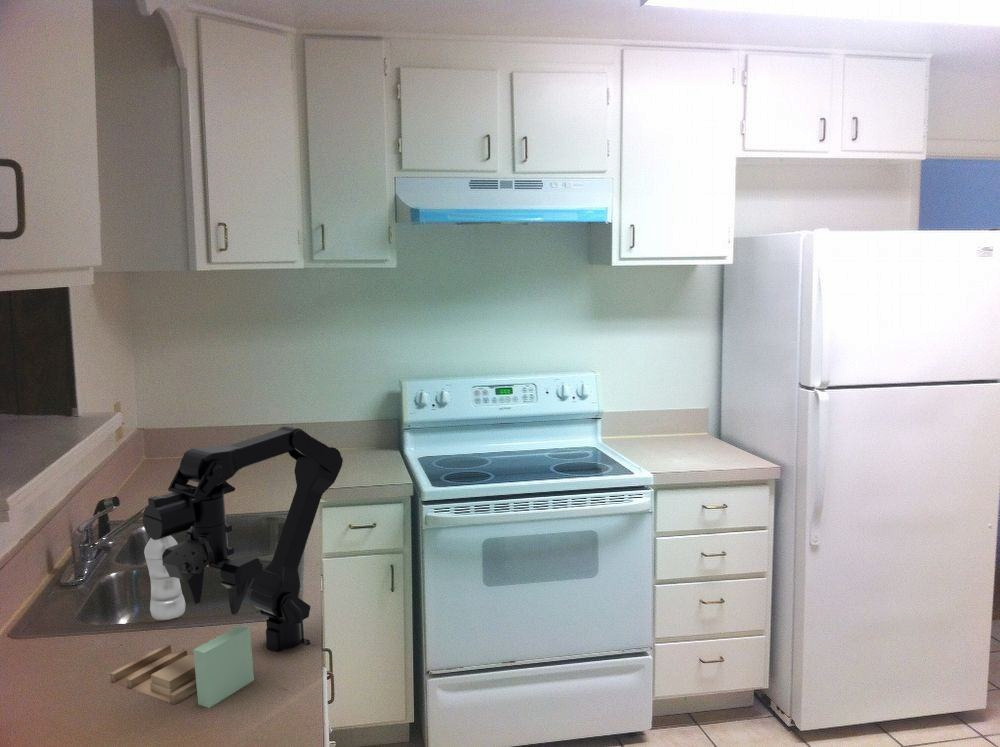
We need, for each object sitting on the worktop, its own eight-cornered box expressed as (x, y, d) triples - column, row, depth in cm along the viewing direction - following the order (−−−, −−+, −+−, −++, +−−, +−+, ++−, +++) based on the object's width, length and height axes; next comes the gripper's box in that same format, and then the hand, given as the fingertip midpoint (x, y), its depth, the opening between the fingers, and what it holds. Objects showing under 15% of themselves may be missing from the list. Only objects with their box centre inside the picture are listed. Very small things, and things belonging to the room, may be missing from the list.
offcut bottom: (197, 665, 161) (196, 657, 161) (217, 671, 158) (216, 663, 158) (150, 691, 152) (150, 682, 152) (171, 698, 150) (170, 690, 150)
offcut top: (193, 659, 160) (193, 651, 159) (212, 665, 157) (211, 657, 157) (151, 682, 152) (150, 674, 152) (170, 689, 150) (169, 681, 150)
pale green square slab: (243, 678, 157) (239, 624, 155) (254, 682, 155) (249, 627, 154) (198, 706, 148) (193, 649, 146) (209, 710, 147) (204, 652, 145)
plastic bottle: (185, 623, 180) (176, 527, 176) (149, 627, 178) (139, 531, 175) (187, 609, 186) (179, 517, 183) (153, 614, 184) (143, 520, 181)
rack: (168, 656, 166) (167, 643, 166) (230, 676, 158) (229, 663, 158) (111, 686, 156) (110, 673, 156) (174, 709, 148) (173, 695, 148)
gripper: (131, 528, 151) (140, 616, 154) (210, 546, 142) (218, 639, 144) (185, 509, 160) (192, 591, 163) (261, 525, 151) (268, 612, 154)
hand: (215, 608), depth 156 cm, fingers open, 9 cm apart
